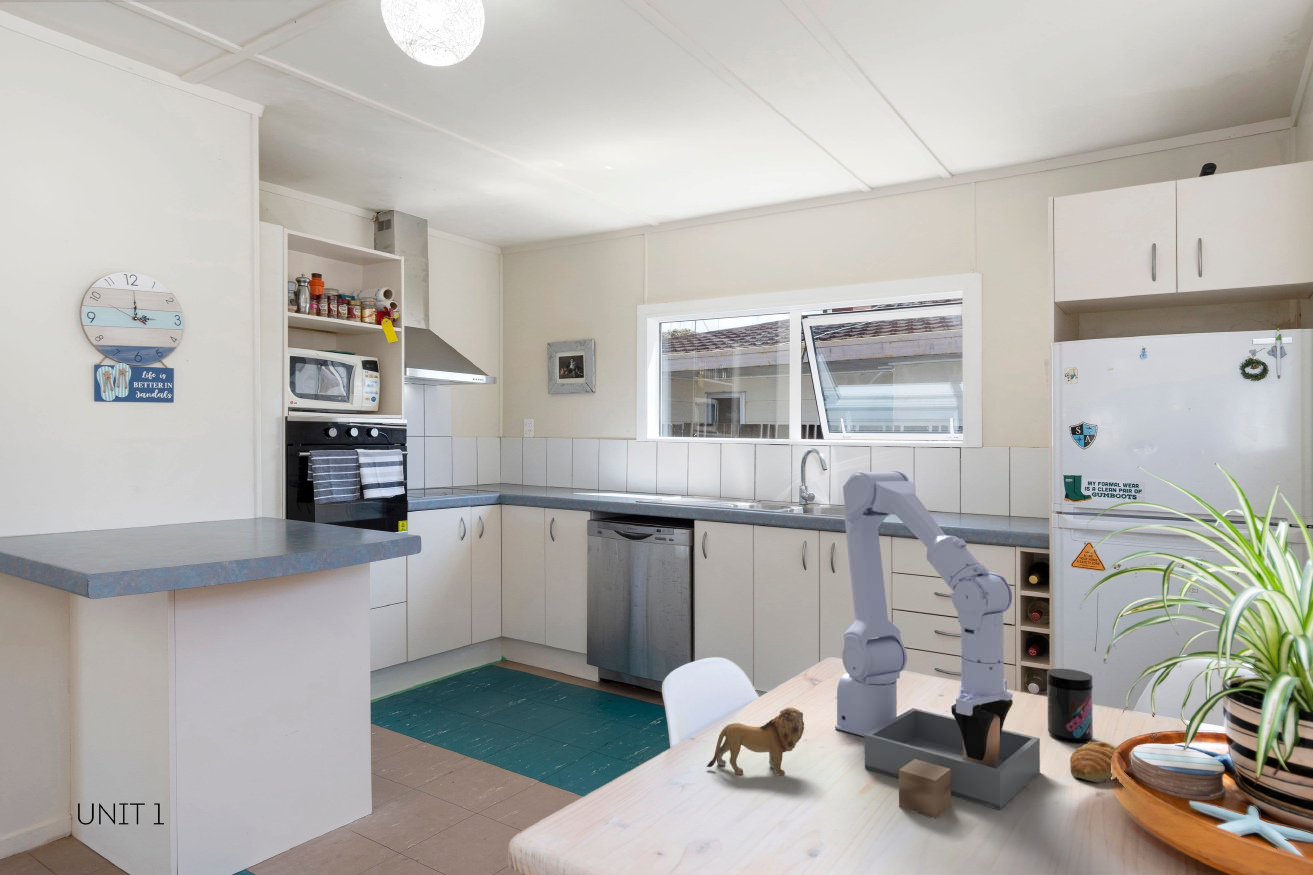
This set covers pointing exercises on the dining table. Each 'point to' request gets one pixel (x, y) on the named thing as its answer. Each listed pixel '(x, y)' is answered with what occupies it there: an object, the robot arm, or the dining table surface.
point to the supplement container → (1070, 705)
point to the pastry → (1092, 762)
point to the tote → (953, 756)
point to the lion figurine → (761, 739)
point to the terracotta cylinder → (989, 746)
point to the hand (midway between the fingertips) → (982, 752)
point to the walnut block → (925, 788)
